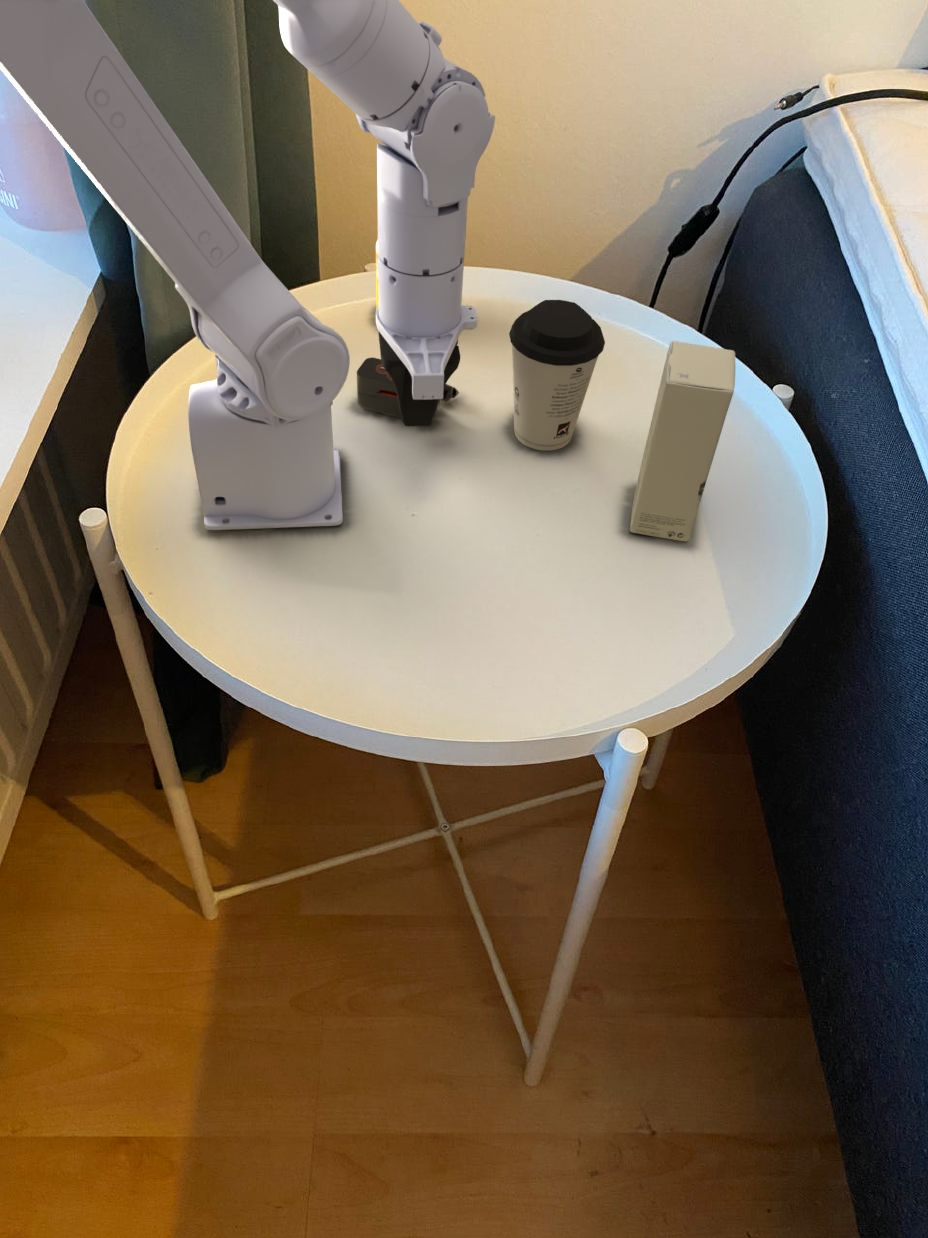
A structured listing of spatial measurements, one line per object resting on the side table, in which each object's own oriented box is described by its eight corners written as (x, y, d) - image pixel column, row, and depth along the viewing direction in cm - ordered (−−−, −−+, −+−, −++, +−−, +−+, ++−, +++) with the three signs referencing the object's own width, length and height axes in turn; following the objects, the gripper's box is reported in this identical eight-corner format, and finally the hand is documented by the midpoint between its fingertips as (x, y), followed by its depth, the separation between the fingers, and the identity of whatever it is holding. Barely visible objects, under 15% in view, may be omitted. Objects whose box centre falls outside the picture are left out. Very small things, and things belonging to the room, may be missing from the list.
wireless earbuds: (440, 430, 76) (441, 395, 73) (355, 409, 77) (354, 374, 75) (458, 398, 79) (461, 363, 76) (376, 378, 80) (376, 343, 78)
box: (688, 545, 69) (736, 394, 59) (627, 534, 69) (665, 382, 60) (692, 497, 72) (738, 347, 63) (633, 487, 73) (670, 336, 63)
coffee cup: (587, 464, 74) (609, 351, 67) (496, 456, 74) (508, 342, 67) (586, 409, 79) (607, 297, 71) (501, 401, 79) (512, 289, 71)
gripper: (495, 313, 60) (480, 482, 70) (468, 202, 69) (458, 365, 79) (380, 314, 59) (382, 485, 69) (369, 202, 68) (372, 366, 79)
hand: (417, 421), depth 74 cm, fingers closed
